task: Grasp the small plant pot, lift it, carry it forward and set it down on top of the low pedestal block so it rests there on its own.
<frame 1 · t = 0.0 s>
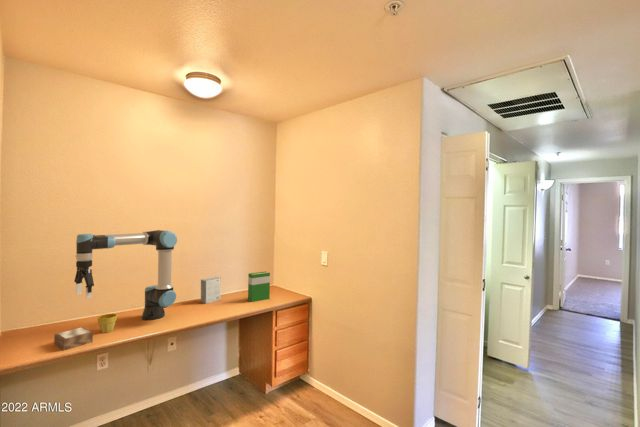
hand: (83, 296, 183), 28 cm above the table, fingers open, 13 cm apart
plant pot: (107, 331, 203), on the table
pedestal block: (73, 343, 184), on the table
hardback book: (258, 299, 281), on the table
hard drive box: (210, 301, 274), on the table
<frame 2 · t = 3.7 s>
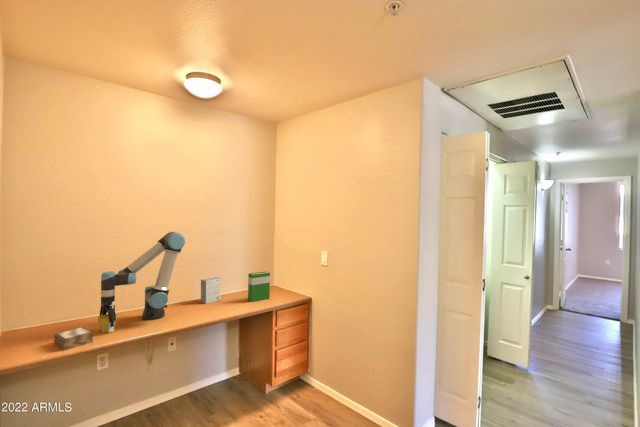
hand: (107, 329, 203), 1 cm above the table, fingers closed on plant pot, 10 cm apart
plant pot: (107, 331, 203), on the table, touching gripper
everything else where it was.
when the fingers open (8 cm above the table, at t = 9.8 s): plant pot drops 1 cm, resting on pedestal block.
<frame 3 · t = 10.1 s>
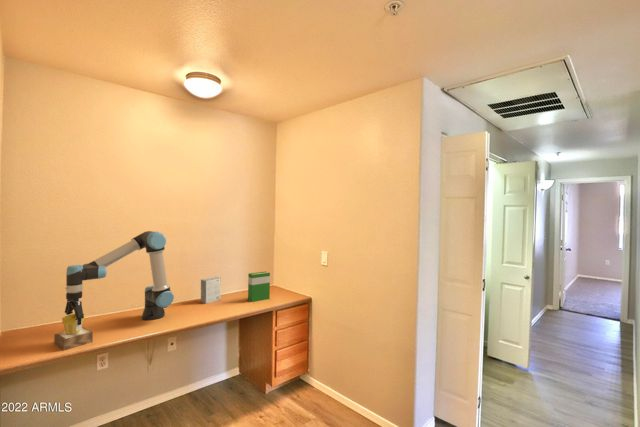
hand: (73, 327, 184), 9 cm above the table, fingers open, 13 cm apart
plant pot: (73, 332, 184), point 6 cm above the table, touching pedestal block
everything else where it was.
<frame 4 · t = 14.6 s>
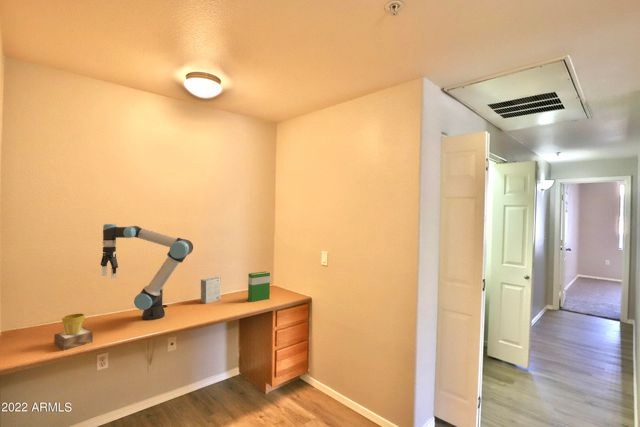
hand: (108, 276, 215), 33 cm above the table, fingers open, 13 cm apart
nothing on the table moved.
at the end: plant pot inside the target area on the pedestal block (0.5 cm from its centre), point 6.1 cm above the pedestal block's base; plant pot tilted 0°; plant pot touching pedestal block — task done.
